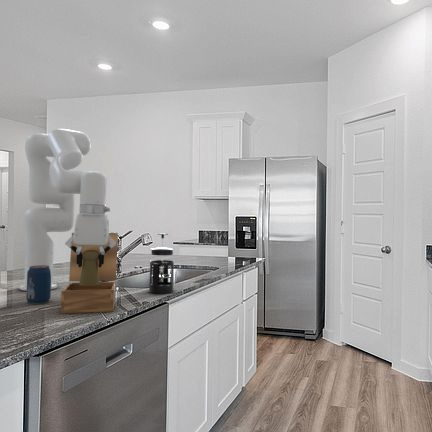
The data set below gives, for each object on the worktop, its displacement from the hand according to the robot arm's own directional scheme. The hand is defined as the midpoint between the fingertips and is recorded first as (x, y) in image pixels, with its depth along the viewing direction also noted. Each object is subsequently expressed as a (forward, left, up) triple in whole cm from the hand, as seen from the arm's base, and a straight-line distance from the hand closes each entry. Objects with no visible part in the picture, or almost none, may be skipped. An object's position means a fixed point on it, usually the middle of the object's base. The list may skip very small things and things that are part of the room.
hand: (90, 266), depth 138 cm
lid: (-9, 0, +2) cm, 10 cm away
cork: (0, 0, -6) cm, 6 cm away
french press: (-24, +23, -14) cm, 36 cm away
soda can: (-11, -16, -14) cm, 24 cm away
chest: (-1, 0, -13) cm, 13 cm away
